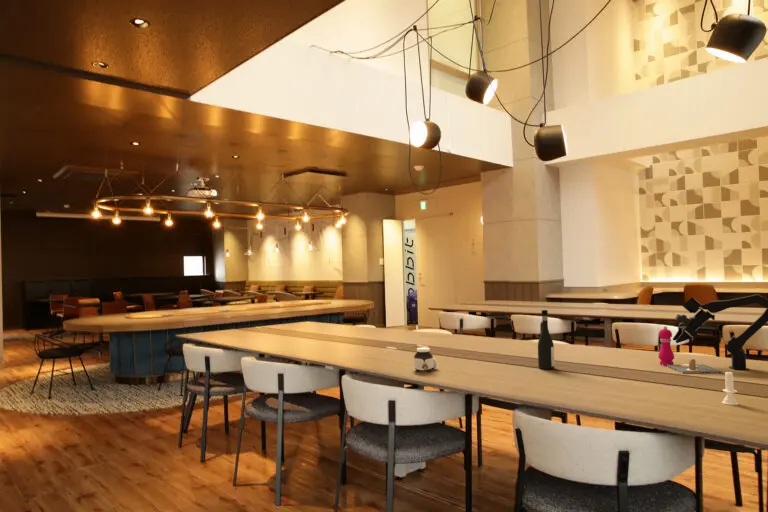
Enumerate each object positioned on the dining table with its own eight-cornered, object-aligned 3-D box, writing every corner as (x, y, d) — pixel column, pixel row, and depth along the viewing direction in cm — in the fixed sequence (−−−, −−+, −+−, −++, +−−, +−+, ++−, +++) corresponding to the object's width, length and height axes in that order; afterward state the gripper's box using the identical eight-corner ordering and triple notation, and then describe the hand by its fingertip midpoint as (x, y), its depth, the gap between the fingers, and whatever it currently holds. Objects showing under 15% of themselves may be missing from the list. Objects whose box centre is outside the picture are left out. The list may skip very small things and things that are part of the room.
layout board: (722, 373, 252) (721, 360, 252) (682, 373, 254) (682, 360, 254) (703, 366, 269) (702, 354, 269) (666, 366, 270) (666, 354, 271)
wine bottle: (552, 366, 278) (550, 309, 279) (556, 369, 270) (554, 310, 271) (537, 366, 279) (535, 309, 280) (539, 369, 271) (538, 310, 272)
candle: (732, 401, 203) (730, 369, 203) (742, 404, 197) (740, 372, 198) (718, 401, 202) (717, 370, 203) (728, 405, 197) (726, 372, 197)
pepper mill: (677, 366, 271) (675, 326, 272) (663, 366, 271) (661, 327, 272) (670, 363, 278) (668, 325, 279) (656, 363, 279) (654, 325, 279)
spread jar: (413, 372, 275) (412, 349, 275) (416, 367, 286) (416, 346, 286) (436, 372, 272) (435, 349, 272) (439, 368, 283) (438, 346, 283)
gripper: (682, 307, 281) (659, 327, 285) (688, 310, 263) (664, 332, 267) (699, 322, 278) (676, 342, 282) (707, 326, 260) (682, 348, 264)
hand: (674, 341), depth 274 cm, fingers open, 9 cm apart
